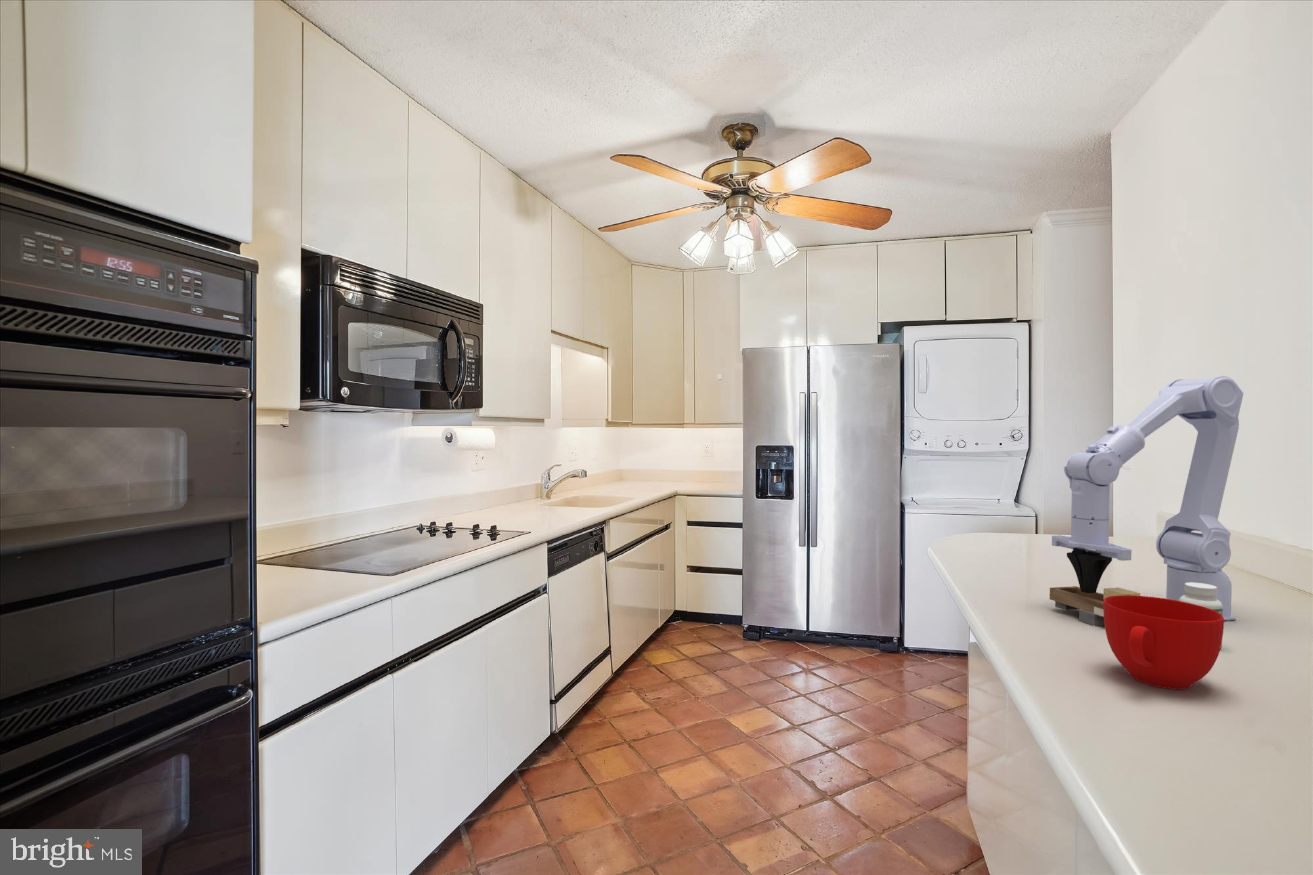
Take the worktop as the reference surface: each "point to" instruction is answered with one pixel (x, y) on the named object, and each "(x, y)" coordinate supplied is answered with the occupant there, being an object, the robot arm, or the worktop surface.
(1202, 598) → the supplement bottle
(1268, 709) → the worktop surface
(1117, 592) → the tan wooden block
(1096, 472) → the robot arm
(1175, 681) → the ceramic cup
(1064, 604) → the beam
